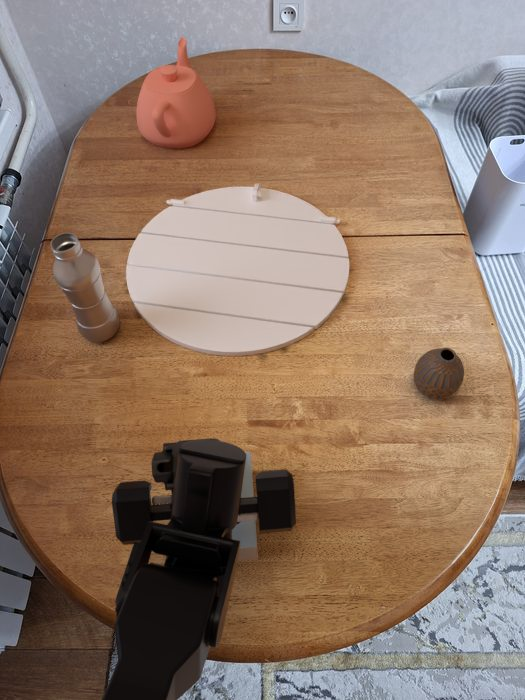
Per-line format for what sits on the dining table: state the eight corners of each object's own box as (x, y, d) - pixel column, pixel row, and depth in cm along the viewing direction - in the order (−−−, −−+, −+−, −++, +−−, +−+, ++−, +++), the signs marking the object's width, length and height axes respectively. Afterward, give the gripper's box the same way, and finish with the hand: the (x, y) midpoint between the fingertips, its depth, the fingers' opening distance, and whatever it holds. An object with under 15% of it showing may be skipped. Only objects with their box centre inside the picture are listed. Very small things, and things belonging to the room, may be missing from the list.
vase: (455, 370, 85) (472, 337, 77) (456, 409, 81) (474, 379, 73) (410, 364, 85) (422, 331, 78) (408, 403, 82) (421, 371, 74)
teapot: (157, 91, 129) (146, 32, 118) (227, 96, 127) (222, 36, 116) (126, 158, 115) (110, 98, 104) (204, 165, 114) (196, 104, 102)
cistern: (258, 559, 69) (256, 542, 63) (179, 566, 69) (169, 549, 63) (252, 469, 76) (250, 445, 70) (180, 475, 76) (171, 451, 69)
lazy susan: (164, 178, 111) (161, 164, 109) (358, 199, 107) (360, 185, 104) (95, 337, 89) (89, 324, 87) (335, 372, 85) (337, 360, 82)
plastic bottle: (73, 335, 90) (28, 247, 73) (102, 308, 93) (65, 218, 76) (102, 353, 88) (62, 267, 71) (131, 325, 91) (99, 236, 74)
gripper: (296, 453, 49) (283, 404, 65) (87, 469, 49) (124, 416, 64) (303, 565, 51) (289, 492, 67) (103, 582, 51) (134, 504, 66)
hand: (210, 474), depth 66 cm, fingers closed, pressing on flush button
